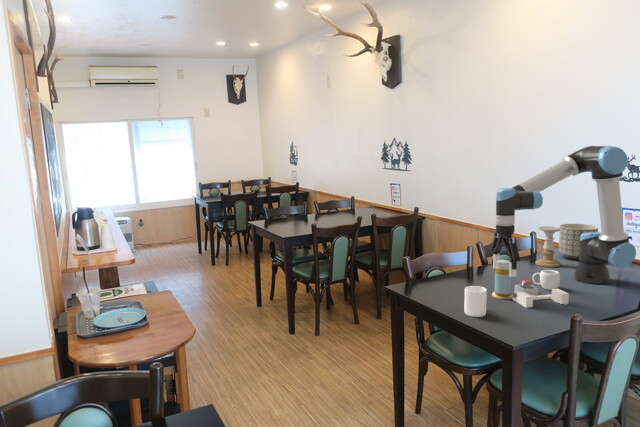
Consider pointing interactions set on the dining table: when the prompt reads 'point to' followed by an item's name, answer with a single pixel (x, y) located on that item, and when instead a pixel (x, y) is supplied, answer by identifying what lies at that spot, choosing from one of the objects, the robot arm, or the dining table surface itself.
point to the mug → (549, 279)
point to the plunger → (526, 284)
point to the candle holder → (548, 248)
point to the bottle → (503, 278)
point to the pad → (502, 296)
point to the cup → (475, 301)
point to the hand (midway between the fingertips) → (504, 272)
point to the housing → (538, 296)
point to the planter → (573, 238)
